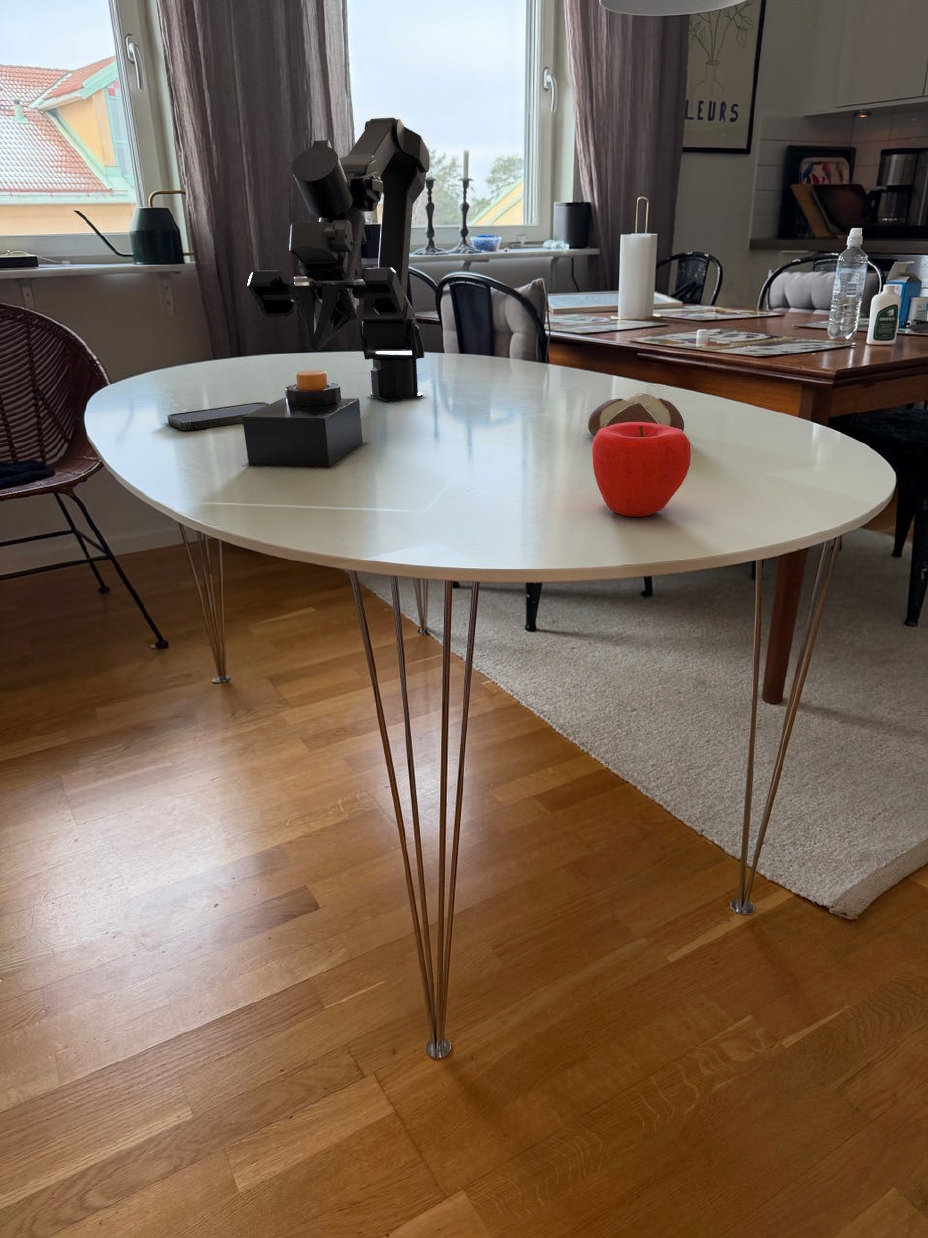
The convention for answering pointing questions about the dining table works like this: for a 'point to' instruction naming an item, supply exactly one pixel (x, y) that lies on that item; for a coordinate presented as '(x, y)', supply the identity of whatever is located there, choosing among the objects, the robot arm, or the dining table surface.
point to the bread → (635, 412)
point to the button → (311, 380)
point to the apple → (639, 466)
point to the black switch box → (304, 429)
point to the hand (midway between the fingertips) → (314, 348)
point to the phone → (213, 416)
